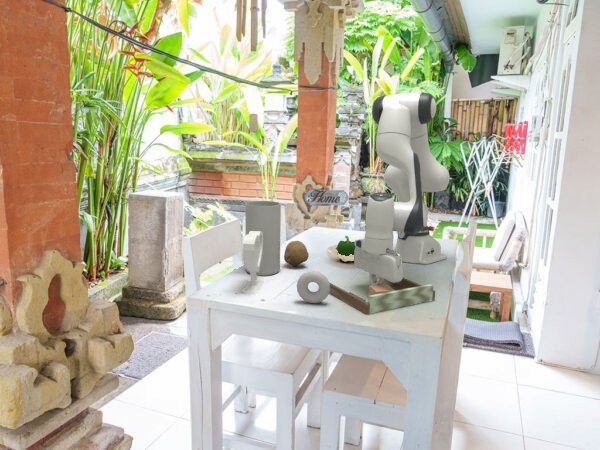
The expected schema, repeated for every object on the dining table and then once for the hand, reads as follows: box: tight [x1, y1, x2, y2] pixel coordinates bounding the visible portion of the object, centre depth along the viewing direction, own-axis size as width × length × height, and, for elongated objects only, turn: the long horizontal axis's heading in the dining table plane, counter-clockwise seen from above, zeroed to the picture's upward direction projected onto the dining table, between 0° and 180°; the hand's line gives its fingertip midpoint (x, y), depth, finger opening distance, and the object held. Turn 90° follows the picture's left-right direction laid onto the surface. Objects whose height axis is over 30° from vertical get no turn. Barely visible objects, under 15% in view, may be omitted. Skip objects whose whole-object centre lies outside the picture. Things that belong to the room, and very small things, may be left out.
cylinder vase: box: [244, 200, 282, 277], centre depth 166 cm, size 12×12×25 cm
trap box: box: [328, 277, 436, 315], centre depth 146 cm, size 26×25×5 cm
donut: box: [296, 270, 330, 304], centre depth 137 cm, size 10×4×10 cm, turn 81°
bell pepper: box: [336, 235, 356, 256], centre depth 183 cm, size 8×8×10 cm
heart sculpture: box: [242, 231, 265, 295], centre depth 149 cm, size 16×5×18 cm, turn 174°
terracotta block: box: [368, 283, 395, 296], centre depth 141 cm, size 6×6×4 cm
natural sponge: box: [283, 240, 310, 267], centre depth 174 cm, size 9×9×10 cm
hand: (376, 287), depth 146 cm, fingers closed
